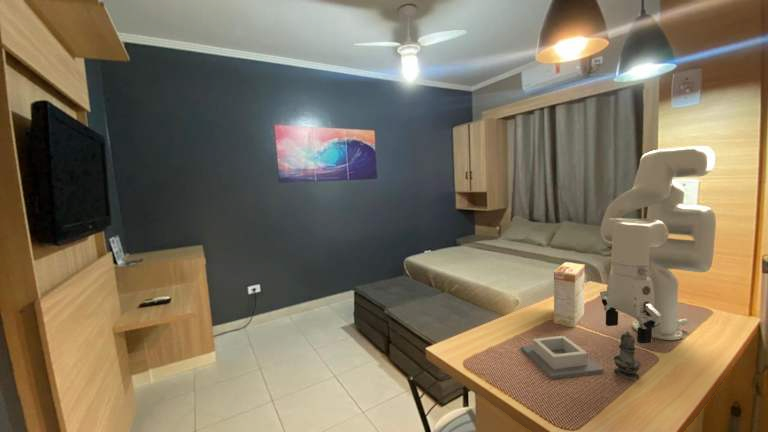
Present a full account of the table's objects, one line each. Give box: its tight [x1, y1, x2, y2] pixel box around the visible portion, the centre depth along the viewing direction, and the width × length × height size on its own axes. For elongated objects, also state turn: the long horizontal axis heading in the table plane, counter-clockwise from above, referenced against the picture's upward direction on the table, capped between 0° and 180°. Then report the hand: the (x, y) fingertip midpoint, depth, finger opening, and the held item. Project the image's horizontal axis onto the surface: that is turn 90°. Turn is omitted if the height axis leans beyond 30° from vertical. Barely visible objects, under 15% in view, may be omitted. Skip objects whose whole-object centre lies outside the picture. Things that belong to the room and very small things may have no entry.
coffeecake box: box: [553, 261, 586, 329], centre depth 116 cm, size 15×7×20 cm, turn 136°
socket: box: [520, 335, 604, 380], centre depth 91 cm, size 15×15×4 cm
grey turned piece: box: [612, 331, 642, 381], centre depth 83 cm, size 6×6×12 cm
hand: (627, 333), depth 82 cm, fingers open, 9 cm apart
